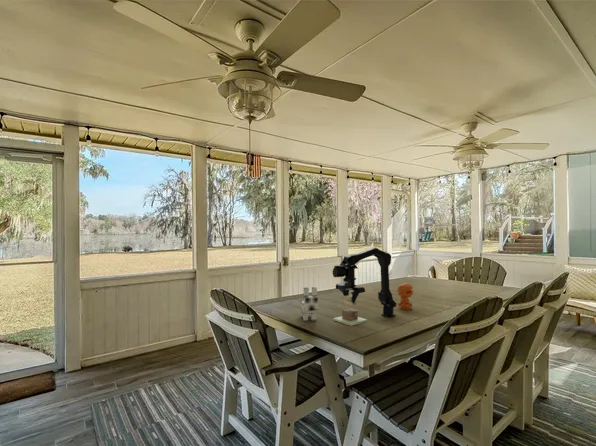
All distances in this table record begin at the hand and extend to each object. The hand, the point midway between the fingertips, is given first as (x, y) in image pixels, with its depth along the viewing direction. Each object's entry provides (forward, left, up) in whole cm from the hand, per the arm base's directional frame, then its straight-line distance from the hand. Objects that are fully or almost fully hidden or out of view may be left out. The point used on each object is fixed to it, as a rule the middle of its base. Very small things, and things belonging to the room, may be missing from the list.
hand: (350, 302), depth 186 cm
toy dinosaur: (-51, +5, -11) cm, 52 cm away
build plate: (0, 0, -11) cm, 11 cm away
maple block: (0, 0, -1) cm, 1 cm away
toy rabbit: (+17, -18, -11) cm, 27 cm away
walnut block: (0, 0, -10) cm, 10 cm away
